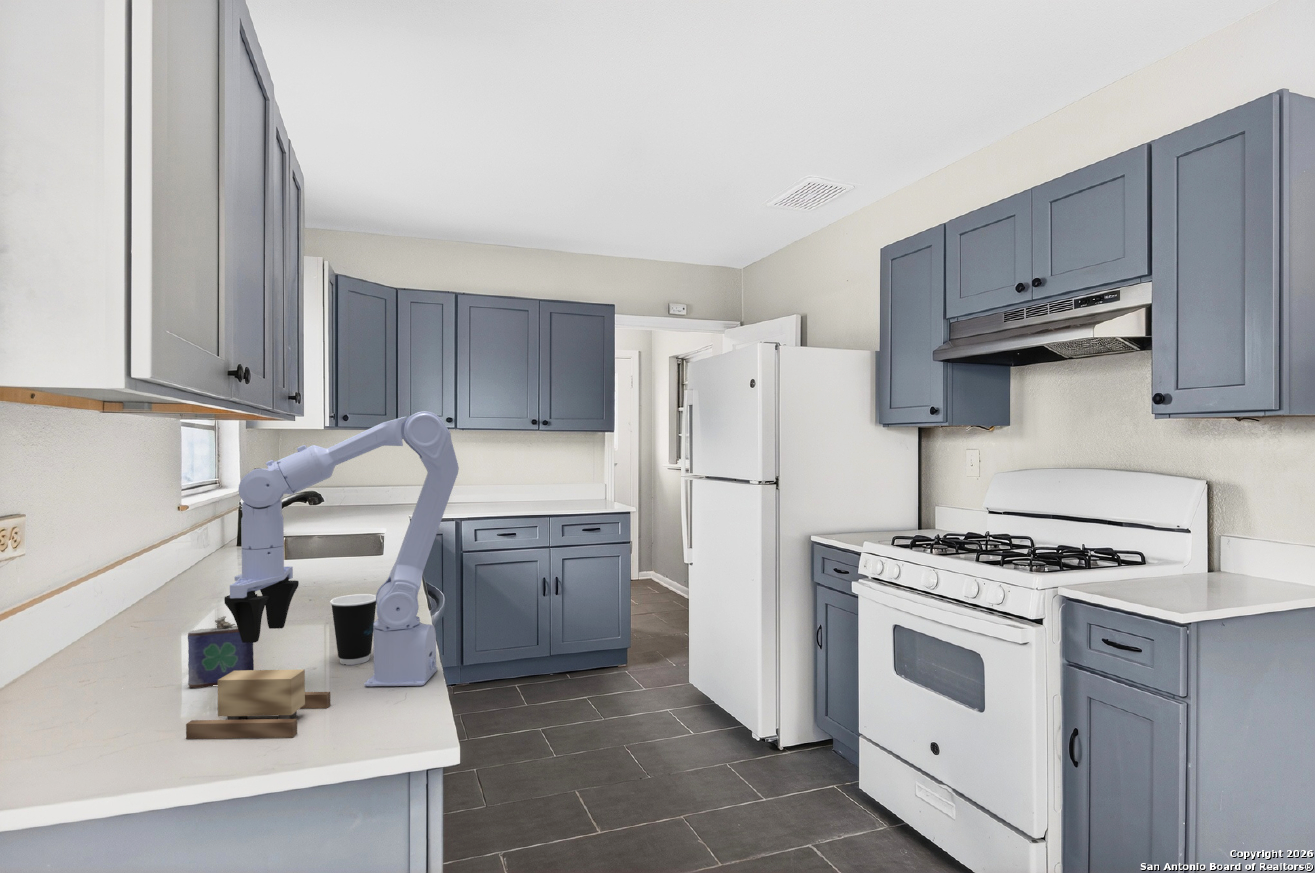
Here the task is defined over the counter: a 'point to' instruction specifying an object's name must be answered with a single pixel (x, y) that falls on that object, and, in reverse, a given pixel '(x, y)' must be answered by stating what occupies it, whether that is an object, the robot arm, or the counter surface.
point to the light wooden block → (261, 692)
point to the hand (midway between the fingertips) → (263, 634)
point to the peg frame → (254, 723)
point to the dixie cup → (354, 626)
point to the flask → (216, 654)
